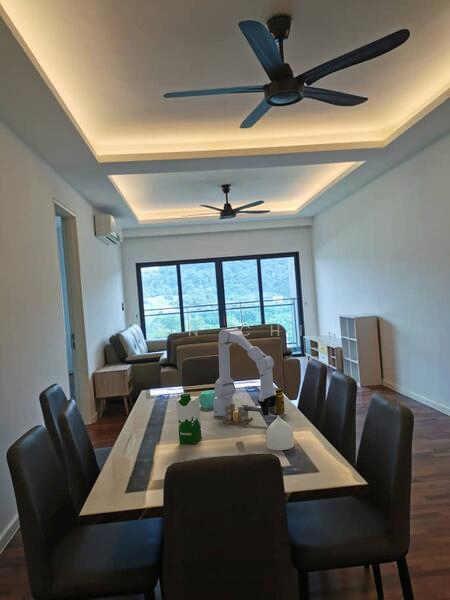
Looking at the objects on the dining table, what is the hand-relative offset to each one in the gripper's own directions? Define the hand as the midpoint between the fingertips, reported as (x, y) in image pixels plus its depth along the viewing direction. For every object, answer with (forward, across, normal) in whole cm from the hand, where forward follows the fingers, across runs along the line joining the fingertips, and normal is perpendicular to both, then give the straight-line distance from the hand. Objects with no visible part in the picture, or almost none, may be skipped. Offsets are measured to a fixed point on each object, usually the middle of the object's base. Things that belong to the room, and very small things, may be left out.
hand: (268, 413), depth 198 cm
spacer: (+5, 0, +16) cm, 17 cm away
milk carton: (+5, -31, +22) cm, 39 cm away
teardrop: (+5, -24, -15) cm, 29 cm away
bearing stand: (+5, 0, +16) cm, 17 cm away
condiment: (+5, +17, +3) cm, 18 cm away
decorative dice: (+5, +21, +44) cm, 49 cm away
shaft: (0, 0, +4) cm, 4 cm away
